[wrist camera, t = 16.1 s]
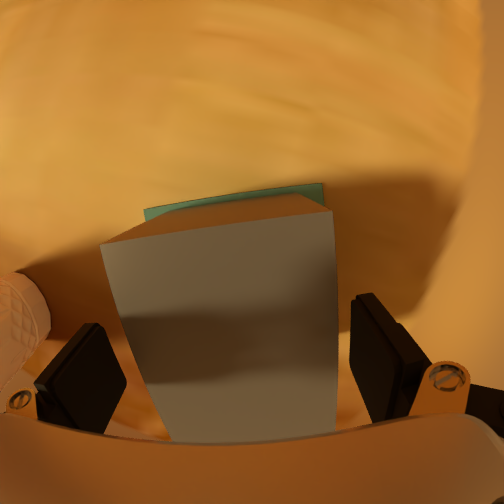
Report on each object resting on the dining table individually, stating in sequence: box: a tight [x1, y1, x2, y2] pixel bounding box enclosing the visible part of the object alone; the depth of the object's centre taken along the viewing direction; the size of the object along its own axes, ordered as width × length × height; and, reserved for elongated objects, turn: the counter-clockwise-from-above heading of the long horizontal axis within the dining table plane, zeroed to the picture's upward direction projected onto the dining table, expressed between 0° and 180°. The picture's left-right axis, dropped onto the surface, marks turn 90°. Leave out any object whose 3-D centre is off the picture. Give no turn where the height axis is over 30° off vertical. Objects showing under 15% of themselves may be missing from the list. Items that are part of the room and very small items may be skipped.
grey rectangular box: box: [99, 192, 338, 443], centre depth 14 cm, size 10×8×9 cm
